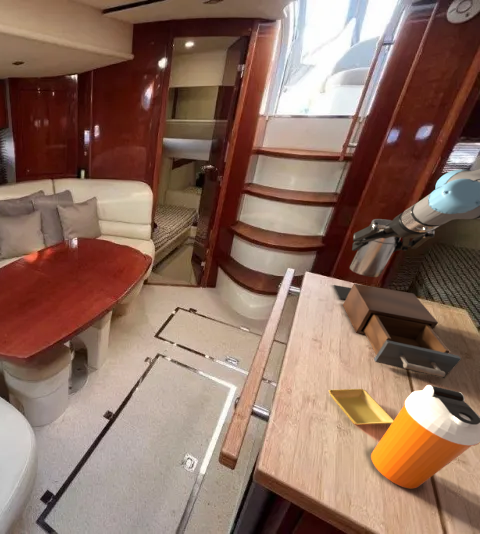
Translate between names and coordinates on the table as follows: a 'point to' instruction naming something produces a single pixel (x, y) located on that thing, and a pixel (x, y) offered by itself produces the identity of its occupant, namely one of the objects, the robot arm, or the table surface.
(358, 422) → the yellow square tray
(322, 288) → the table surface
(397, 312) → the cabinet
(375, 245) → the metal cup
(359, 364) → the table surface
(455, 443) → the shaker bottle
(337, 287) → the coaster
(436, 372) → the drawer
